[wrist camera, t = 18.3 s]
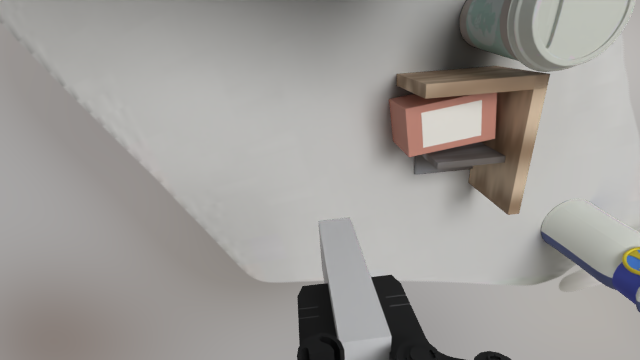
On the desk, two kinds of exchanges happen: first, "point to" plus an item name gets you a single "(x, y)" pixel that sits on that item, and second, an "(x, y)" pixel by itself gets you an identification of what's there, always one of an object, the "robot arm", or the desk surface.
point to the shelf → (510, 133)
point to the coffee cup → (544, 29)
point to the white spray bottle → (596, 244)
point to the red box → (441, 121)
